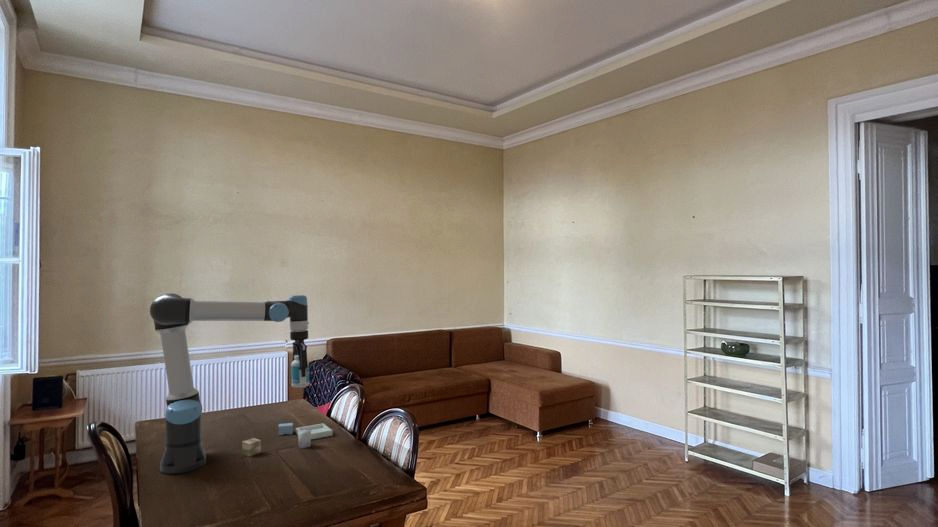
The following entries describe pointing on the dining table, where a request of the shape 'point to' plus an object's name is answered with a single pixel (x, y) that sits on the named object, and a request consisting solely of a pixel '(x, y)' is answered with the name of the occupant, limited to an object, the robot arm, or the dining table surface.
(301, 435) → the grey cylinder
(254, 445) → the oak cube
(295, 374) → the pill bottle
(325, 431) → the tray
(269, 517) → the dining table surface
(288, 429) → the blue block
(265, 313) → the robot arm
